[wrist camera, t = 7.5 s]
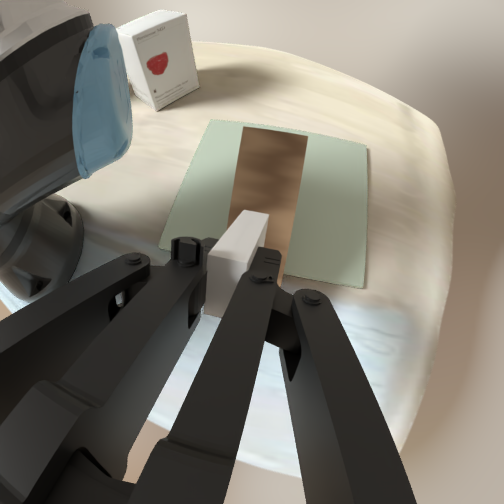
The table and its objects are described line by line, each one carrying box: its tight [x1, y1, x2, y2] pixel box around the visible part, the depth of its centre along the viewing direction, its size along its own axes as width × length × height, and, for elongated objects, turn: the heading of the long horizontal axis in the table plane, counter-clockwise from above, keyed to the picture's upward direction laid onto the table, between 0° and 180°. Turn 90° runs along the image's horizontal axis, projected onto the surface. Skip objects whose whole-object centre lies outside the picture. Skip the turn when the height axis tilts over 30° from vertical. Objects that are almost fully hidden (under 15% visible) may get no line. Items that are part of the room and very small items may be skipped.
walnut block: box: [226, 126, 308, 287], centre depth 24 cm, size 5×5×14 cm
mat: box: [158, 119, 368, 289], centre depth 31 cm, size 22×20×1 cm
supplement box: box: [116, 10, 200, 111], centre depth 33 cm, size 9×9×15 cm
